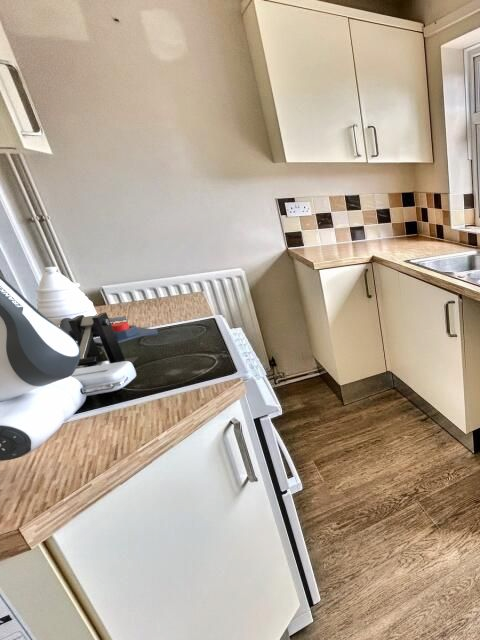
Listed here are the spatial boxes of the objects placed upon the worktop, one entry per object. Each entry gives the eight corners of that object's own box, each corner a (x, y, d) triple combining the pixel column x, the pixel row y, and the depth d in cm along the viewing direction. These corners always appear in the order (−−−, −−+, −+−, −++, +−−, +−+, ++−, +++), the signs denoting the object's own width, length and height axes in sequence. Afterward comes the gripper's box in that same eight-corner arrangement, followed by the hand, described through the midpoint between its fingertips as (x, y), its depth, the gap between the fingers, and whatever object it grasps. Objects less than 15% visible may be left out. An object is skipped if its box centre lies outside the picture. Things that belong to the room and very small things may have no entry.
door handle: (124, 310, 139) (54, 318, 129) (127, 323, 126) (49, 334, 115) (126, 319, 140) (57, 329, 130) (130, 333, 127) (53, 345, 116)
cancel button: (118, 332, 115) (115, 326, 115) (110, 331, 116) (107, 325, 116) (133, 328, 118) (130, 322, 118) (125, 327, 120) (122, 321, 119)
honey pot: (104, 319, 139) (82, 264, 132) (50, 331, 129) (23, 272, 122) (91, 313, 145) (69, 261, 139) (38, 324, 135) (12, 269, 129)
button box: (110, 350, 112) (105, 338, 111) (90, 346, 115) (85, 334, 114) (159, 335, 122) (155, 323, 121) (139, 332, 125) (135, 321, 124)
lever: (99, 365, 89) (93, 359, 87) (65, 371, 87) (58, 364, 85) (110, 321, 96) (105, 314, 95) (79, 325, 94) (72, 317, 93)
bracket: (123, 378, 95) (99, 320, 90) (77, 385, 92) (50, 326, 87) (140, 361, 104) (120, 307, 99) (99, 367, 101) (76, 312, 96)
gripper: (115, 370, 80) (139, 345, 91) (-36, 394, 72) (12, 363, 84) (127, 399, 82) (150, 371, 94) (-17, 425, 74) (27, 391, 86)
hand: (84, 367), depth 89 cm, fingers closed on lever, 6 cm apart
